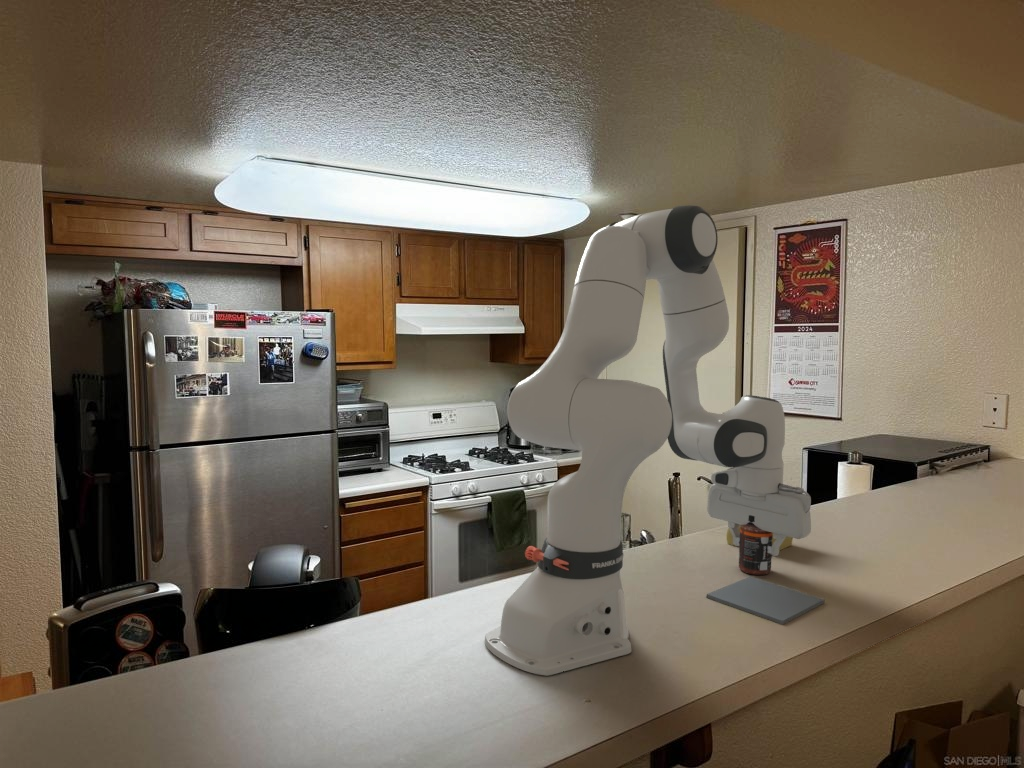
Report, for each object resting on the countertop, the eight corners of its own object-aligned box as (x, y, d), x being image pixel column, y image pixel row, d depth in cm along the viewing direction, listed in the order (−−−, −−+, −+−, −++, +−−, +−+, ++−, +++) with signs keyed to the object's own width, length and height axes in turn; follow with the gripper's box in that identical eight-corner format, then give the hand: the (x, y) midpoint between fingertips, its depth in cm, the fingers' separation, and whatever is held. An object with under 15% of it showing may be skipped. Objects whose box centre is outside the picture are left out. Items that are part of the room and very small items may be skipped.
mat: (782, 624, 108) (782, 620, 108) (706, 597, 119) (706, 594, 119) (824, 602, 117) (824, 599, 117) (750, 579, 128) (750, 576, 128)
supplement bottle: (773, 577, 129) (776, 518, 128) (740, 574, 130) (742, 516, 129) (768, 566, 135) (770, 510, 134) (736, 564, 136) (738, 508, 135)
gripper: (819, 487, 125) (815, 560, 126) (721, 469, 141) (719, 534, 142) (802, 492, 121) (799, 568, 122) (703, 472, 137) (701, 540, 138)
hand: (755, 549), depth 132 cm, fingers closed on supplement bottle, 6 cm apart
